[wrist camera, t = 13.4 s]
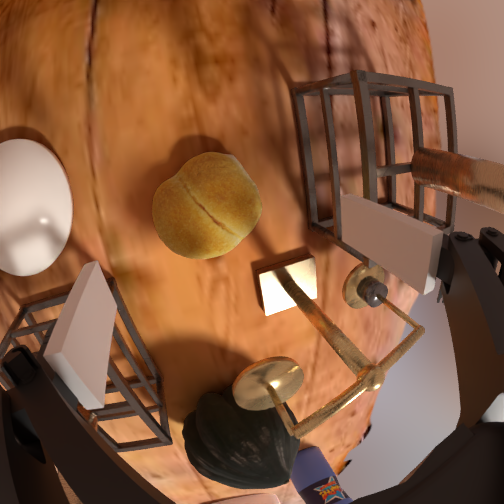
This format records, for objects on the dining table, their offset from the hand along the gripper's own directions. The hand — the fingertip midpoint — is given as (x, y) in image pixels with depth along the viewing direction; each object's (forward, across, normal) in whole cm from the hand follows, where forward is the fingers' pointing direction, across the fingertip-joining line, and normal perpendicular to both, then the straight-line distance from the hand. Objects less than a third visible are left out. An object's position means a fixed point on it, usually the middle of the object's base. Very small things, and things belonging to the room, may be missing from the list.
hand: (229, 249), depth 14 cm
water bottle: (+10, +7, -59) cm, 61 cm away
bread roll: (+11, 0, 0) cm, 11 cm away
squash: (+11, -3, -27) cm, 30 cm away
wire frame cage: (+11, +16, +2) cm, 19 cm away
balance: (+11, +7, -10) cm, 16 cm away
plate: (+11, -16, +5) cm, 20 cm away
